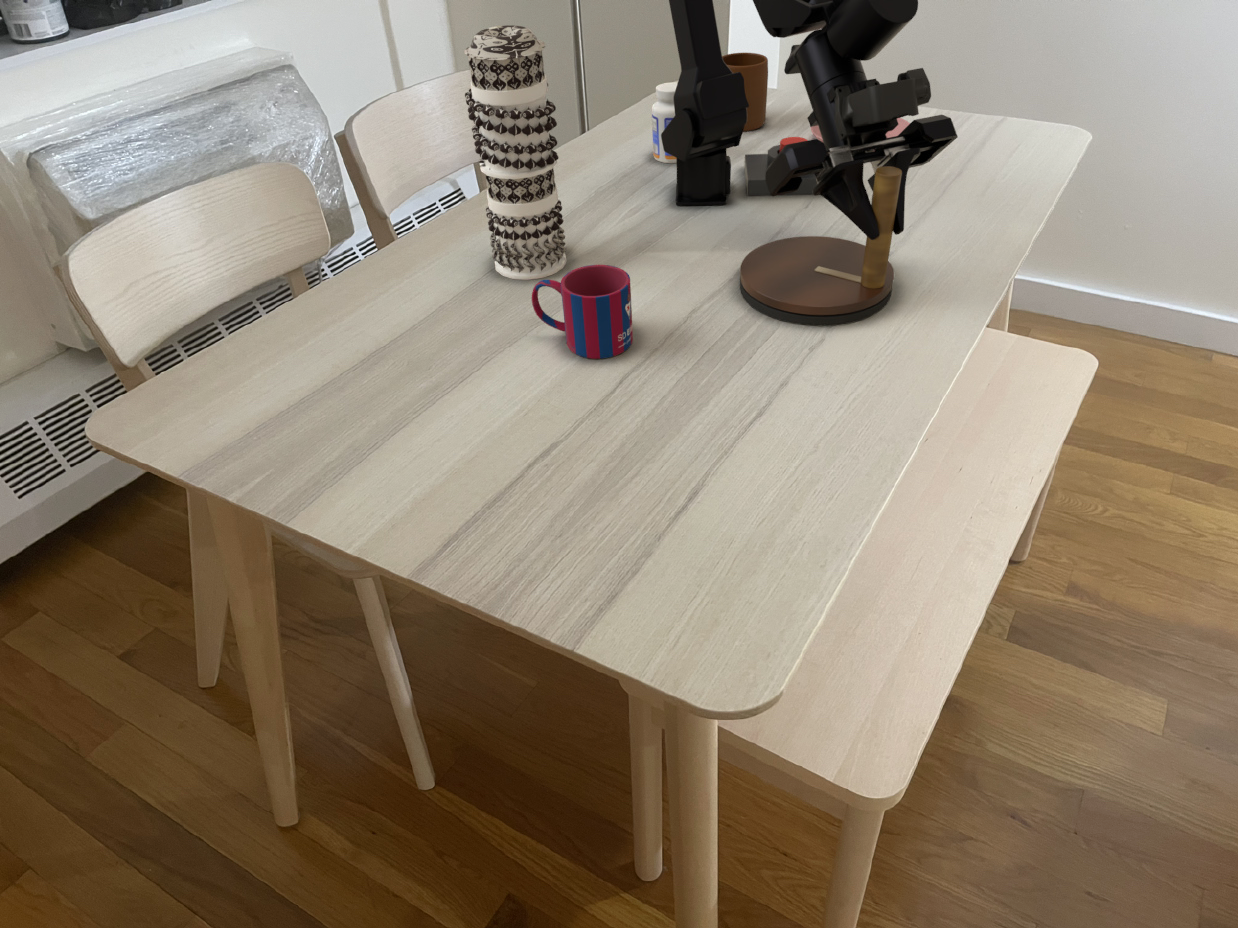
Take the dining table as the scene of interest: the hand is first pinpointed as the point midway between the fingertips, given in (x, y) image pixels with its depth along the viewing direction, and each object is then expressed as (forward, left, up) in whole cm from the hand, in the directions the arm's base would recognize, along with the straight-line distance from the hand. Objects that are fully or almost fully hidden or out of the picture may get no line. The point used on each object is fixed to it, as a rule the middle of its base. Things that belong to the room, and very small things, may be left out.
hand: (887, 235), depth 87 cm
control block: (-6, +33, -8) cm, 35 cm away
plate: (+5, +47, -8) cm, 48 cm away
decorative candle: (-38, +11, -8) cm, 40 cm away
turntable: (-6, +4, -7) cm, 10 cm away
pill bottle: (-22, +43, -8) cm, 49 cm away
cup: (-30, -6, -8) cm, 31 cm away
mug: (-13, +54, -8) cm, 57 cm away
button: (-6, +33, -4) cm, 34 cm away
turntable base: (-6, +4, -8) cm, 11 cm away
